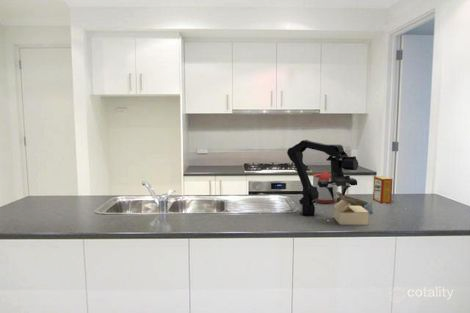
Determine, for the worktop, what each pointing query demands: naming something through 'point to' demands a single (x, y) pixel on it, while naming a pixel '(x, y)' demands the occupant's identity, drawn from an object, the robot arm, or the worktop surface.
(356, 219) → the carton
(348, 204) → the cabinet door with handle
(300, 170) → the robot arm
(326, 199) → the citrus juicer
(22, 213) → the worktop surface
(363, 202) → the beverage carton
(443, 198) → the worktop surface
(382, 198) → the baking soda box
